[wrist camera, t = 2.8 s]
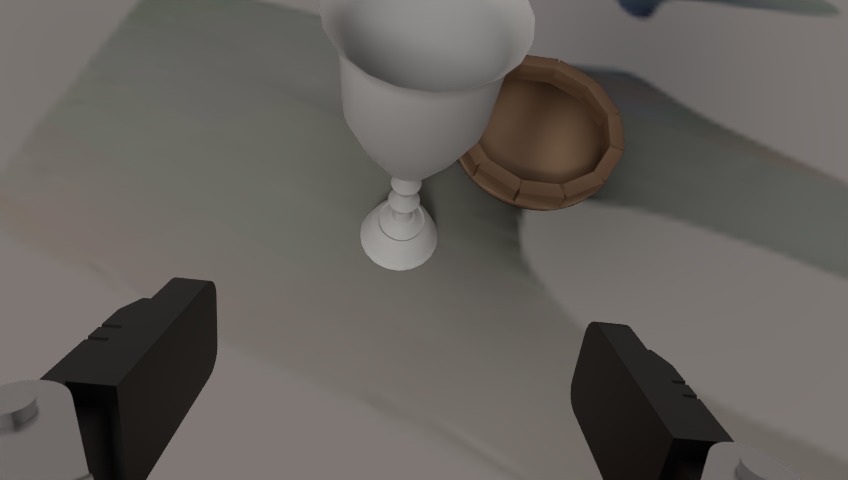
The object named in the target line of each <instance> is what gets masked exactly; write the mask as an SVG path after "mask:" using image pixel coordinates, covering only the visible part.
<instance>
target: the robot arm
mask: <svg viewBox="0 0 848 480" xmlns="http://www.w3.org/2000/svg"><path fill="white" fill-rule="evenodd" d="M216 355H217V302H216V287H215V284H214V283H213V282H212V281H205V280H196V279H186V278H173V279H171V280H170V281H169V282H168V283H167V284H166V285H165V286H164V287H163V288H162V289H161V290H160V291H159V292H158V293H157V294H156V295H154V296H153V297H152V298H151V299H149V298H142V299H140V300H138V301H135V302H133V303H131V304H129V305H127V306H125V307H122V308H120V309H119V310H117V311H116V312H115V313H114V314H113V315H112V316H110V317H109V318H108V319H107V320H106V321H105V322H104V323H103V324H102V327H98V328H97V329H96V330H95V331H94V332H93V333H91V334H90V335H89V336H88V339H87V340H83V341H82V342H81V343H80V344H79V345H78V346H77V347H75V348H74V349H73V350H72V351H71V352H70V353H69V354H68V355H66V356H65V357H64V358H63V359H62V360H61V361H60V362H59V363H57V364H56V365H55V366H54V367H53V368H52V369H51V370H49V371H48V372H47V373H46V374H45V375H44V376H43V377H42V378H41V379H39V380H27V381H20V382H14V383H9V384H6V385H2V386H0V480H146V479H147V477H148V475H149V474H150V472H151V470H152V469H153V467H154V466H155V464H156V463H157V461H158V459H159V458H160V456H161V455H162V453H163V451H164V450H165V448H166V446H167V445H168V443H169V442H170V440H171V438H172V437H173V435H174V433H175V432H176V430H177V429H178V427H179V425H180V424H181V422H182V420H183V419H184V417H185V416H186V414H187V413H188V411H189V409H190V408H191V406H192V405H193V403H194V401H195V400H196V398H197V397H198V395H199V393H200V392H201V390H202V388H203V387H204V385H205V384H206V382H207V380H208V379H209V377H210V375H211V373H212V371H213V368H214V364H215V361H216ZM571 404H572V408H573V411H574V414H575V416H576V418H577V421H578V423H579V425H580V427H581V430H582V432H583V434H584V437H585V439H586V441H587V443H588V446H589V448H590V450H591V453H592V455H593V457H594V459H595V462H596V464H597V466H598V468H599V471H600V473H601V475H602V478H603V480H802V479H801V478H800V477H799V476H798V475H797V474H796V473H795V472H794V471H793V470H792V469H790V468H789V467H788V466H787V465H785V464H784V463H782V462H781V461H779V460H778V459H776V458H775V457H773V456H771V455H769V454H767V453H765V452H763V451H761V450H759V449H756V448H754V447H751V446H748V445H745V444H741V443H735V442H734V441H733V440H732V438H731V437H730V436H729V435H728V433H727V432H726V431H725V430H724V428H723V427H722V426H721V425H720V424H719V422H718V421H717V420H716V419H715V417H714V416H713V415H712V414H711V412H710V411H709V410H708V409H707V408H706V406H705V405H704V404H703V403H702V401H701V400H700V399H697V395H696V394H695V393H694V392H693V390H692V389H691V388H690V387H689V385H685V380H684V379H683V378H682V377H681V376H680V374H679V373H678V372H677V371H676V369H675V368H674V367H673V366H672V365H671V364H670V363H668V362H667V361H666V360H664V359H663V358H661V357H660V356H659V355H657V354H656V353H655V352H653V351H652V350H647V348H646V347H645V346H644V345H643V343H642V342H641V341H640V339H639V338H638V337H637V336H636V334H635V333H634V332H633V330H632V329H631V328H630V327H629V326H628V325H622V324H612V323H603V322H591V323H590V324H589V325H588V327H587V329H586V332H585V335H584V339H583V343H582V346H581V350H580V354H579V357H578V361H577V365H576V368H575V372H574V376H573V379H572V384H571Z"/></svg>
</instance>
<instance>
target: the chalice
mask: <svg viewBox="0 0 848 480" xmlns="http://www.w3.org/2000/svg"><path fill="white" fill-rule="evenodd" d="M319 8H320V14H321V20H322V26H323V30H324V32H325V33H326V35H327V36H328V38H329V39H330V41H331V42H332V44H333V45H334V47H335V48H336V50H337V51H338V53H339V62H340V77H341V91H342V103H343V109H344V115H345V120H346V122H347V124H348V125H349V127H350V128H351V130H352V131H353V133H354V135H355V136H356V138H357V139H358V141H359V142H360V144H361V145H362V147H363V148H364V150H365V151H366V153H367V154H368V156H369V157H371V158H372V159H373V160H374V161H375V162H376V163H377V164H379V165H380V166H381V167H382V168H383V169H384V170H385V171H387V172H388V173H389V174H390V175H392V176H393V177H392V179H391V185H392V188H393V190H392V191H391V192H390V194H389V197H388V200H386V201H383V202H382V203H381V204H380V205H378V206H377V207H376V208H374V209H373V210H372V211H371V212H370V213H368V215H367V216H366V218H365V220H364V221H363V223H362V227H361V232H360V236H361V243H362V246H363V248H364V250H365V252H366V254H367V255H368V256H369V257H370V258H371V259H372V260H373V261H374V262H375V263H376V264H378V265H380V266H382V267H385V268H387V269H392V270H398V271H401V270H408V269H413V268H415V267H417V266H419V265H421V264H423V263H424V262H425V261H426V260H427V259H428V258H430V257H431V255H432V253H433V251H434V250H435V248H436V245H437V237H438V234H437V230H436V225H435V223H434V221H433V220H432V218H431V216H430V215H429V214H428V213H427V211H426V210H425V208H424V207H422V206H421V205H420V204H419V203H420V197H419V195H418V193H417V192H418V191H419V190H420V188H421V185H422V182H421V180H422V179H425V178H427V177H429V176H431V175H434V174H436V173H438V172H440V171H442V170H444V169H446V168H448V167H449V166H450V165H451V164H453V163H454V162H455V161H456V160H458V159H459V158H460V157H461V156H462V155H463V154H465V153H466V152H467V151H468V150H469V149H470V148H471V147H473V146H474V145H475V144H476V143H477V142H478V141H479V139H480V138H481V136H482V134H483V132H484V131H485V129H486V127H487V126H488V123H489V120H490V117H491V114H492V111H493V109H494V106H495V103H496V100H497V97H498V94H499V91H500V89H501V86H502V83H503V80H504V77H505V75H506V74H507V73H509V72H510V71H511V70H513V69H514V68H515V67H517V66H518V65H519V64H521V63H522V61H523V59H524V58H525V56H526V54H527V53H528V51H529V49H530V47H531V45H532V44H533V42H534V32H535V31H534V30H535V16H534V14H533V11H532V9H531V6H530V3H529V1H528V0H321V1H320V4H319Z"/></svg>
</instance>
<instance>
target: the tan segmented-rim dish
mask: <svg viewBox="0 0 848 480" xmlns="http://www.w3.org/2000/svg"><path fill="white" fill-rule="evenodd" d="M594 82H595V80H594V79H593V78H591V77H589V76H587V75H586V74H584V73H582V72H580V71H579V70H577V69H575V68H573V67H572V66H570V65H568V64H567V63H565V62H563V61H560V62H559V63H558V59H552V58H545V57H537V56H530V55H526V56H525V58H524V59H523V61H522V63H521V64H519V65H518V66H517V67H515V68H514V69H513V70H511V71H510V72H509V73H507V74H506V75H505V77H504V80H503V83H502V86H501V89H500V91H499V94H498V97H497V100H496V103H495V106H494V109H493V111H492V114H491V117H490V120H489V123H488V126H487V127H486V129H485V131H484V132H483V134H482V136H481V138H480V139H479V141H478V142H477V143H476V144H475V145H474V146H473V147H471V148H470V149H469V150H468V151H467V152H466V153H465V154H463V155H462V156H461V157H460V158H459V159H458V160H459V162H460V164H461V166H462V167H463V169H464V170H465V172H466V173H467V174H468V176H469V177H470V178H471V179H472V180H473V181H474V182H475V183H476V184H477V185H478V186H479V187H480V188H481V189H483V190H484V191H486V192H487V193H488V194H490V195H491V196H493V197H495V198H497V199H498V200H500V201H503V202H505V203H507V204H510V205H513V206H516V207H519V208H524V209H529V210H540V211H546V210H557V209H562V208H566V207H569V206H572V205H575V204H577V203H579V202H581V201H583V200H584V199H586V198H587V197H589V196H590V195H593V194H595V193H596V192H597V191H598V190H599V189H600V188H601V186H602V185H603V184H604V183H605V182H606V180H607V179H608V177H609V175H610V174H611V172H612V170H613V169H614V167H615V166H616V164H617V162H618V161H619V159H620V158H621V156H622V154H623V153H624V149H625V148H624V139H623V129H622V120H621V115H619V113H620V112H619V110H618V109H617V108H616V106H615V105H614V104H613V102H612V101H611V100H610V98H609V97H608V95H607V94H606V93H605V91H604V90H603V89H602V87H601V86H600V85H599V83H598V82H596V83H594Z"/></svg>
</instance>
